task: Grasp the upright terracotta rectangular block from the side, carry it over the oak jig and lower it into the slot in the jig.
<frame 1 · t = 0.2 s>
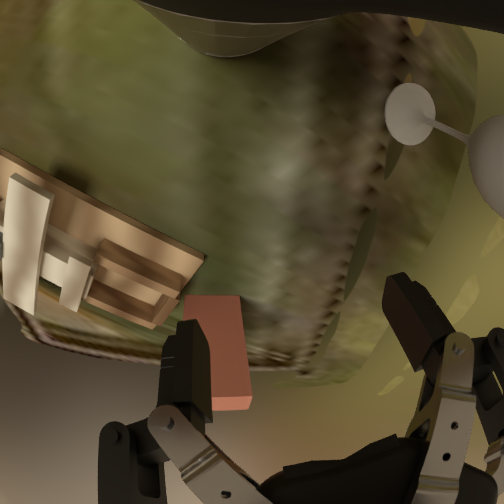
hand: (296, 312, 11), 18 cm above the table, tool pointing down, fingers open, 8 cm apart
wineglass: (410, 113, 23), on the table
jig: (69, 240, 27), on the table
terracotta rectangular block: (211, 305, 36), on the table
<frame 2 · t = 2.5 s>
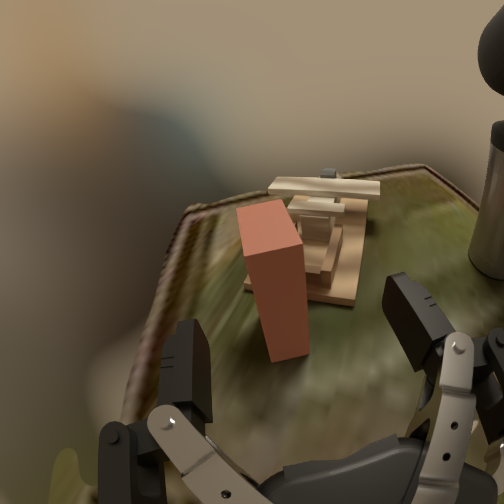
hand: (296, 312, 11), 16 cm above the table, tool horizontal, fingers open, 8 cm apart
jig: (322, 229, 43), on the table
terracotta rectangular block: (284, 332, 29), on the table
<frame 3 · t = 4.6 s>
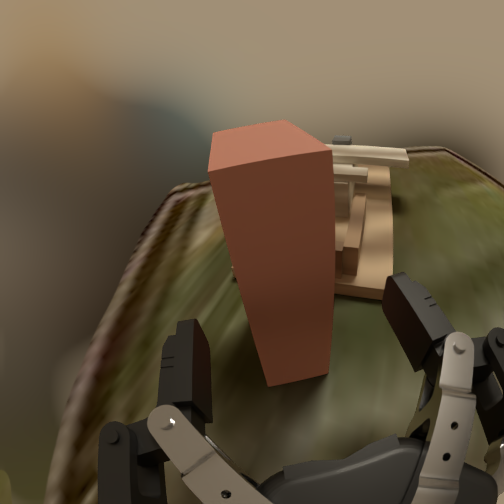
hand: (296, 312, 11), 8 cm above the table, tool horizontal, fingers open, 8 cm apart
jig: (336, 205, 33), on the table
terracotta rectangular block: (288, 339, 19), on the table
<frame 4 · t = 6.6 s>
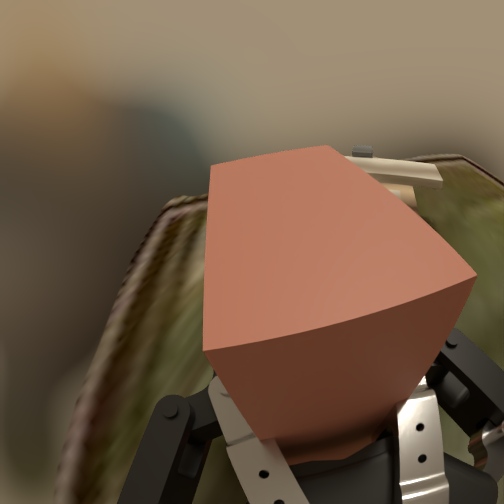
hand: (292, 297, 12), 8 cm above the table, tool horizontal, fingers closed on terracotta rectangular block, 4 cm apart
jig: (358, 231, 28), on the table
terracotta rectangular block: (309, 417, 14), on the table, touching gripper
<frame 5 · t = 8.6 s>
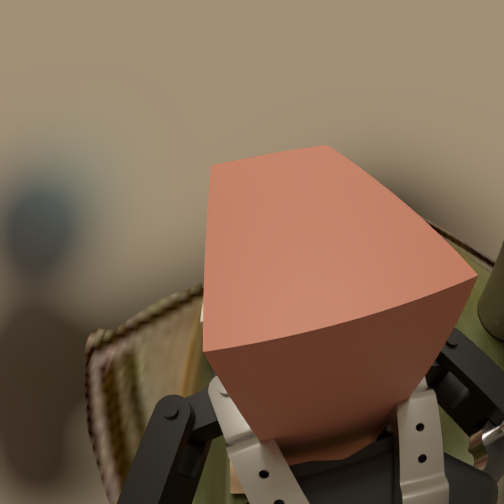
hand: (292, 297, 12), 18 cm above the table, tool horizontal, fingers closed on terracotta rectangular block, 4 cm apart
jig: (296, 356, 29), on the table
terracotta rectangular block: (309, 418, 14), point 10 cm above the table, touching gripper
when the fingers open (11 cm above the table, at t = 10.5 s): terracotta rectangular block drops 1 cm, resting on jig.
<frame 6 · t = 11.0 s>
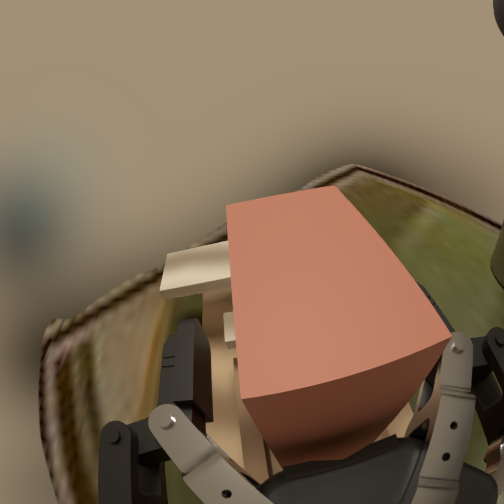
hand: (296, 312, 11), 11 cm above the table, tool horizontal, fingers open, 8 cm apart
jig: (285, 333, 23), on the table
terracotta rectangular block: (310, 424, 15), point 1 cm above the table, touching jig
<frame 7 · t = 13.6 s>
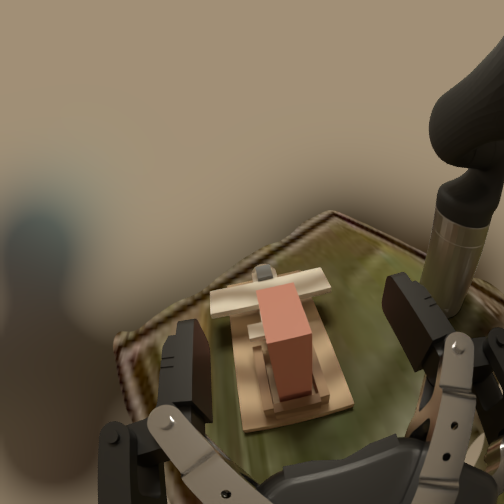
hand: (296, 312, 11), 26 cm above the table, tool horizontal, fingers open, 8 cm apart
jig: (278, 335, 42), on the table
terracotta rectangular block: (290, 379, 34), point 1 cm above the table, touching jig
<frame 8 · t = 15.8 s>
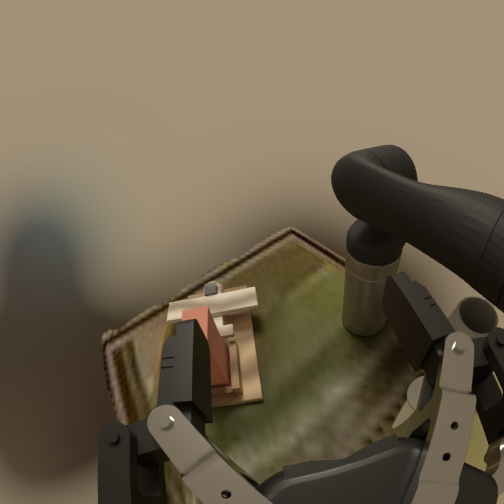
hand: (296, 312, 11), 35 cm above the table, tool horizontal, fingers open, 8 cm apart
wineglass: (425, 395, 34), on the table
jig: (219, 338, 53), on the table
terracotta rectangular block: (219, 373, 45), point 1 cm above the table, touching jig
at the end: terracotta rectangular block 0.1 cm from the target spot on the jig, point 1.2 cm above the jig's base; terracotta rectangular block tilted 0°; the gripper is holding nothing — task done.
